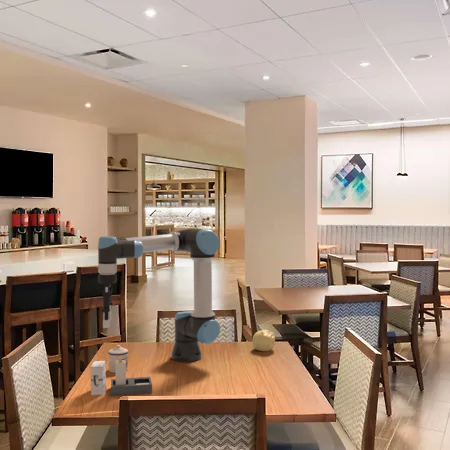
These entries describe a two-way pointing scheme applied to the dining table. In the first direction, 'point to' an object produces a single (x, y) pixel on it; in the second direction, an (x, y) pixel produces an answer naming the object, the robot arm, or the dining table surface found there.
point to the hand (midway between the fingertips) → (107, 324)
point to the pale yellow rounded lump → (263, 340)
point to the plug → (120, 372)
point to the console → (132, 386)
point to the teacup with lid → (117, 357)
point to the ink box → (98, 378)
